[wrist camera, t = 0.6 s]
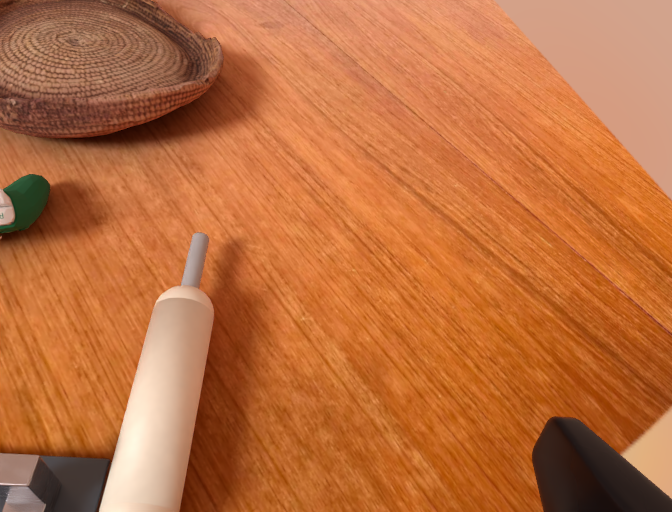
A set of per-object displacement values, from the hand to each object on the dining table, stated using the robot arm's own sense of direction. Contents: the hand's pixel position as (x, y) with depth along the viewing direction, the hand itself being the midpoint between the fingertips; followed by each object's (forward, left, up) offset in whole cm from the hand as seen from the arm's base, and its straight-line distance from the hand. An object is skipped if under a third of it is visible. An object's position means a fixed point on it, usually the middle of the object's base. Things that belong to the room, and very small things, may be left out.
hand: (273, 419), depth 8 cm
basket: (+36, +17, -19) cm, 44 cm away
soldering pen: (+9, +5, -19) cm, 21 cm away
